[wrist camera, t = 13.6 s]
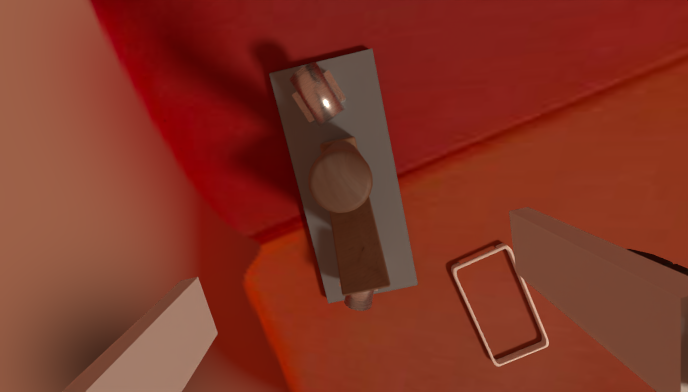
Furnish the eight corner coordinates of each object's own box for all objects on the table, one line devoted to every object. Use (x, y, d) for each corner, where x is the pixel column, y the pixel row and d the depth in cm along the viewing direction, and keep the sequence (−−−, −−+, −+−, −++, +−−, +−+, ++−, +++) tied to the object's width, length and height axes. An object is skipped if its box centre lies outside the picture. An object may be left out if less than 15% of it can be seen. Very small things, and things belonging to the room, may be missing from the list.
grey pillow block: (289, 89, 33) (280, 82, 28) (324, 65, 33) (321, 54, 28) (316, 130, 34) (311, 130, 29) (350, 107, 34) (351, 103, 29)
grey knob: (343, 245, 37) (343, 263, 32) (381, 250, 37) (386, 268, 32) (338, 285, 38) (337, 308, 33) (374, 289, 38) (379, 312, 33)
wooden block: (343, 234, 37) (342, 331, 19) (321, 142, 34) (297, 154, 17) (374, 227, 36) (402, 319, 19) (354, 135, 34) (365, 139, 17)
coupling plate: (271, 75, 34) (269, 73, 33) (371, 50, 33) (372, 48, 32) (328, 298, 39) (328, 303, 38) (415, 280, 39) (417, 284, 38)
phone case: (544, 338, 41) (503, 240, 38) (551, 345, 40) (509, 244, 37) (491, 360, 42) (447, 265, 39) (495, 368, 40) (451, 269, 38)
